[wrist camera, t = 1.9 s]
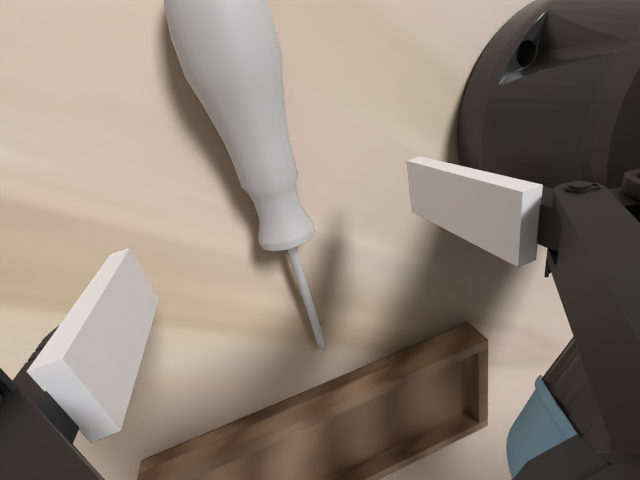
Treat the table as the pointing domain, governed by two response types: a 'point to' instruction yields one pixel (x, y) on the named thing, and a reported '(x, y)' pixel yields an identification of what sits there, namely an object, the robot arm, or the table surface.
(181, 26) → the screwdriver
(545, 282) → the table surface
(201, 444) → the tool tray
